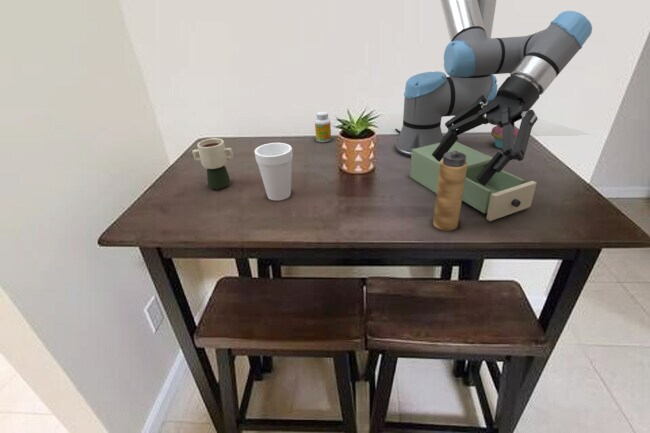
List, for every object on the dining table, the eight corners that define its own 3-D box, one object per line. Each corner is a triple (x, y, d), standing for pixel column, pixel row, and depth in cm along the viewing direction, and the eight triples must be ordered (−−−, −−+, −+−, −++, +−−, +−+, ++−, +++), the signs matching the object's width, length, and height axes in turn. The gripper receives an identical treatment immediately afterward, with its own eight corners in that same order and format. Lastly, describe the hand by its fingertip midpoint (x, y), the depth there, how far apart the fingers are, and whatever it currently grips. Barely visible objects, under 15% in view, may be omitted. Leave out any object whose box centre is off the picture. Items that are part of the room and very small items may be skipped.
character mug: (240, 179, 112) (233, 136, 106) (236, 190, 106) (228, 146, 99) (204, 181, 112) (194, 139, 106) (197, 192, 106) (186, 148, 100)
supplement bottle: (316, 143, 134) (314, 115, 129) (316, 137, 139) (314, 111, 134) (331, 142, 134) (330, 115, 129) (331, 136, 139) (329, 110, 134)
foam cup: (268, 206, 98) (261, 159, 91) (256, 192, 105) (249, 147, 98) (302, 197, 101) (297, 151, 94) (288, 183, 108) (283, 140, 101)
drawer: (534, 209, 89) (541, 184, 85) (494, 223, 84) (499, 198, 81) (483, 182, 101) (488, 160, 98) (446, 194, 97) (449, 171, 93)
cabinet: (488, 187, 101) (494, 158, 96) (447, 200, 96) (451, 170, 92) (448, 166, 113) (451, 139, 109) (409, 176, 108) (411, 149, 104)
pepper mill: (428, 221, 88) (436, 149, 79) (446, 215, 90) (456, 144, 81) (443, 233, 84) (454, 158, 74) (462, 226, 86) (475, 152, 76)
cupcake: (519, 151, 120) (528, 113, 113) (490, 150, 121) (498, 113, 115) (513, 141, 127) (521, 105, 120) (486, 140, 128) (493, 105, 122)
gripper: (587, 112, 70) (510, 202, 73) (486, 85, 90) (428, 157, 93) (576, 87, 66) (494, 184, 69) (472, 64, 85) (411, 141, 88)
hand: (456, 169), depth 81 cm, fingers open, 13 cm apart
